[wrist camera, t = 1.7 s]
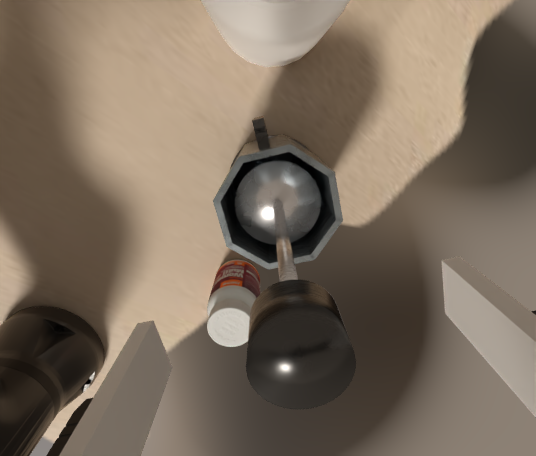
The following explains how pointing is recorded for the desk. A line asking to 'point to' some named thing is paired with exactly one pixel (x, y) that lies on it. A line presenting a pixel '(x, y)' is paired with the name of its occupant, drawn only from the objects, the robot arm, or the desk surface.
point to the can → (273, 27)
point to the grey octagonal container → (272, 150)
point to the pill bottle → (232, 302)
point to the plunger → (291, 297)
